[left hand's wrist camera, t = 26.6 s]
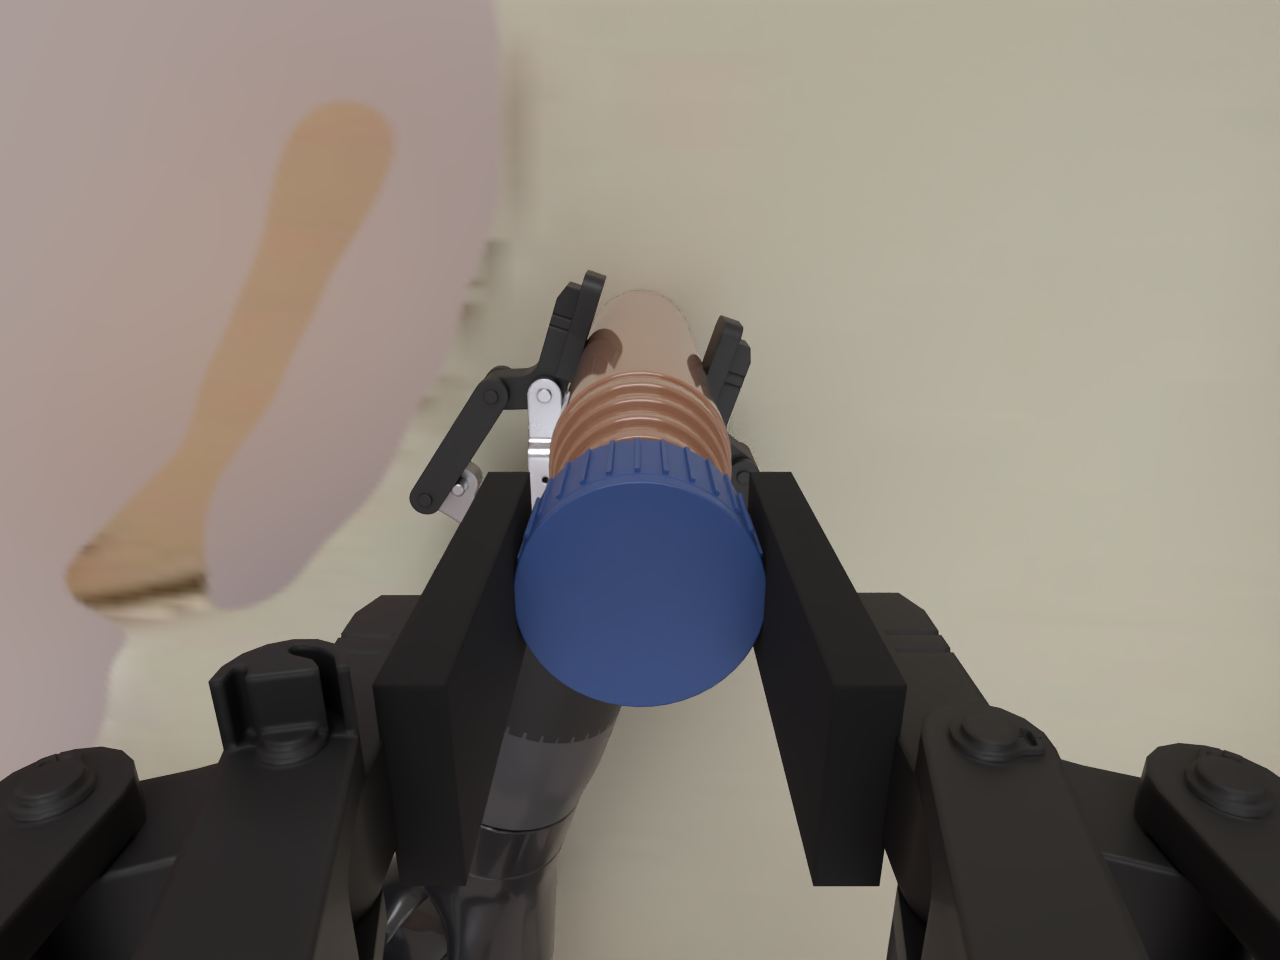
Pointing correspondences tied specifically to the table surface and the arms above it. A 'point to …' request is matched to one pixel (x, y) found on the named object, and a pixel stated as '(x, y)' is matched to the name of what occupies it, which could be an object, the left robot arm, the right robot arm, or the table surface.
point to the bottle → (640, 386)
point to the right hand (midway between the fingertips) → (663, 300)
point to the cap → (640, 575)
